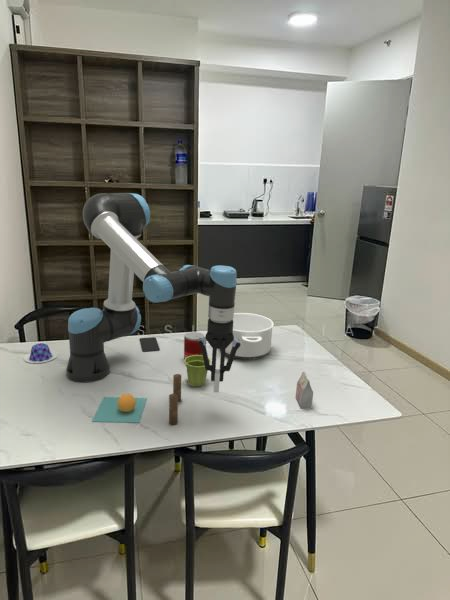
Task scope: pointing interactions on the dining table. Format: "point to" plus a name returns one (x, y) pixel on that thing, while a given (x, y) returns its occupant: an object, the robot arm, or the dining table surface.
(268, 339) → the pot
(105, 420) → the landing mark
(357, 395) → the dining table surface
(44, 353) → the pudding
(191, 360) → the plant pot
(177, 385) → the post far
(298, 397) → the white red carton
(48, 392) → the dining table surface
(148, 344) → the phone
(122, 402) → the ball
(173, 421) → the post near
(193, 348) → the canned food
